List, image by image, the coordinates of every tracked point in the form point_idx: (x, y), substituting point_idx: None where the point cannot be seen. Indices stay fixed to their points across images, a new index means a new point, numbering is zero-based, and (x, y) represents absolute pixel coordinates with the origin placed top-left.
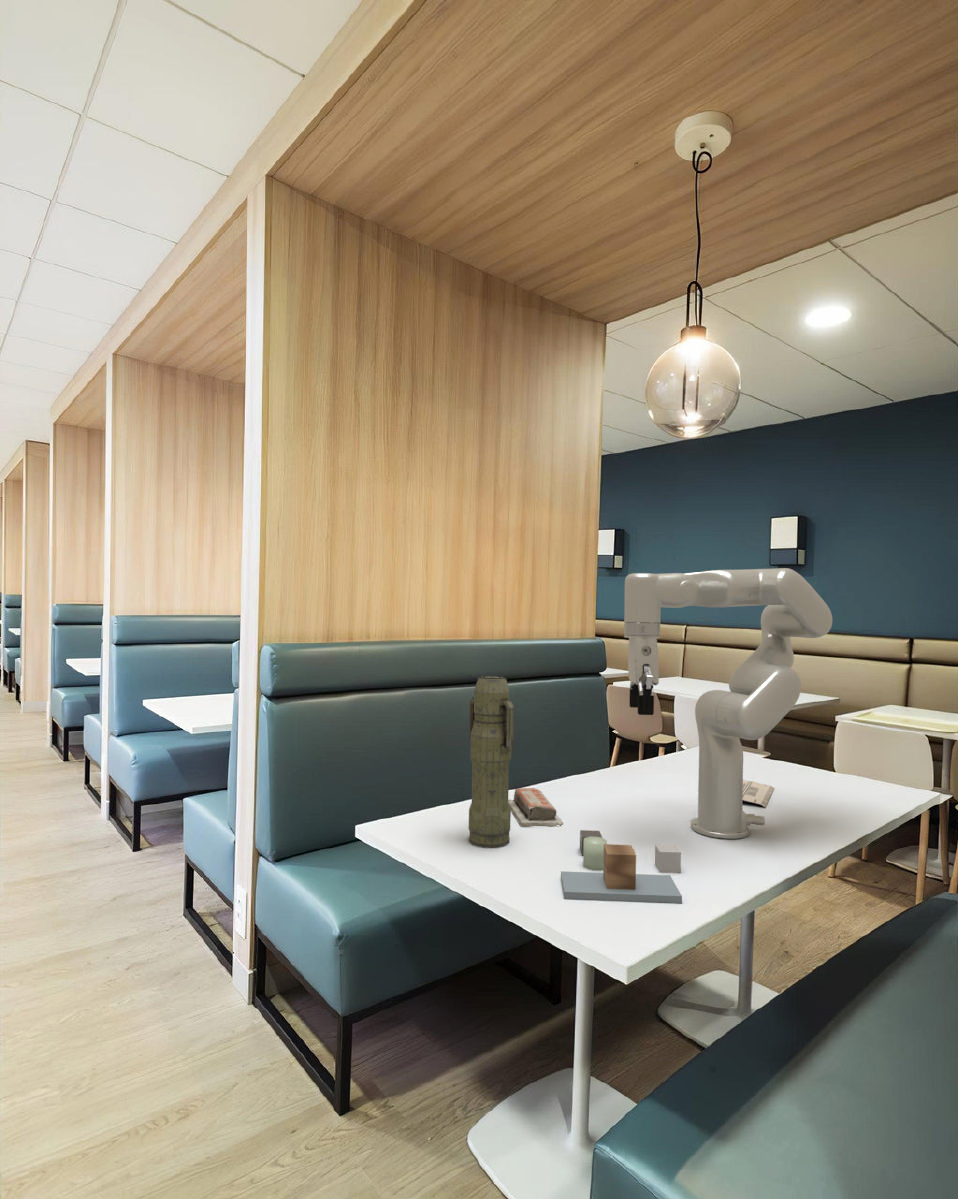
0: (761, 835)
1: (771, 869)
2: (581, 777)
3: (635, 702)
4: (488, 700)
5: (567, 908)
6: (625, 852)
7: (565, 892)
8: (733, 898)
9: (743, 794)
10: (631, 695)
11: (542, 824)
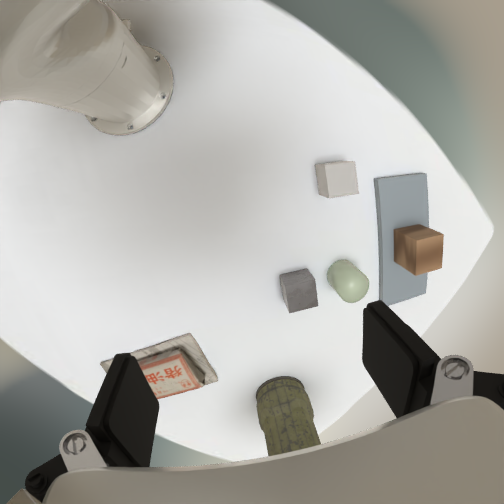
0: (137, 32)
1: (291, 37)
2: None
3: (146, 404)
4: None
5: (436, 283)
6: (437, 247)
7: (425, 292)
8: (398, 111)
9: None
10: (151, 447)
11: (205, 358)
